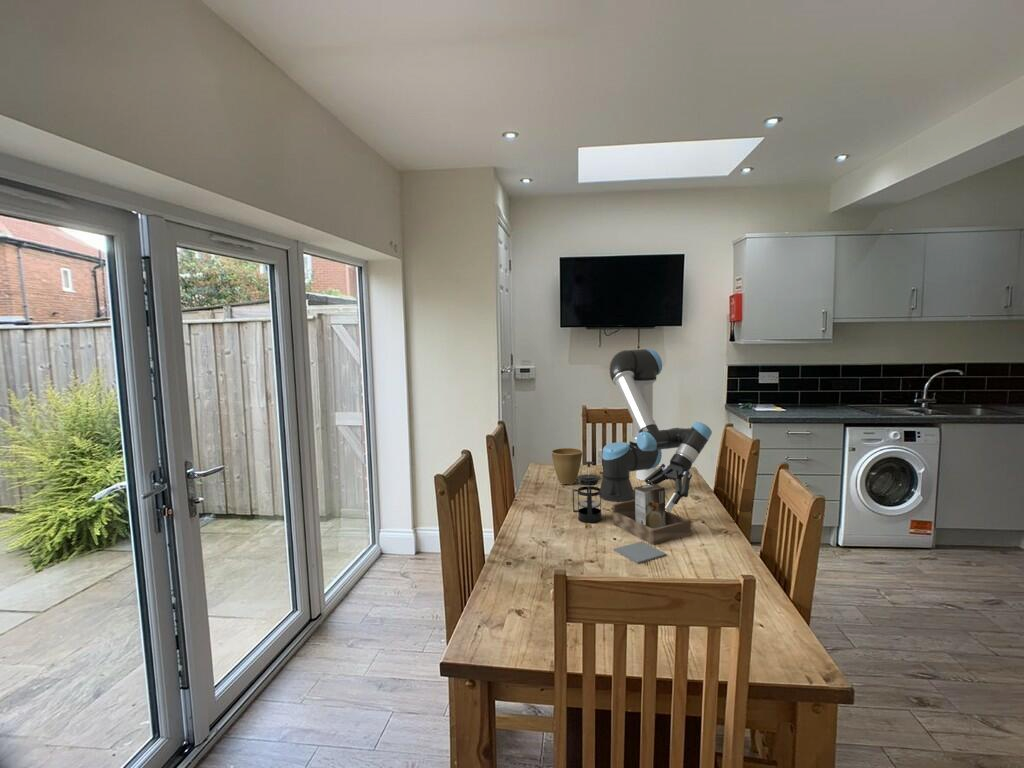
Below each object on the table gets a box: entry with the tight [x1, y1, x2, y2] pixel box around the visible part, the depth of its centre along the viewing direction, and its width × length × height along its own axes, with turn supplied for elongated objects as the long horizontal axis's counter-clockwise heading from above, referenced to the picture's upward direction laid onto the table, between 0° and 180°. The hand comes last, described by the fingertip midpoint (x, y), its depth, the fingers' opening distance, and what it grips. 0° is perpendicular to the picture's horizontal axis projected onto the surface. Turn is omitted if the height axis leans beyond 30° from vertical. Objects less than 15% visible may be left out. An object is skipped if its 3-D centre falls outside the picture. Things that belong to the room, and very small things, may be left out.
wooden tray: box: [612, 498, 692, 546], centre depth 196 cm, size 22×17×8 cm
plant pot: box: [551, 447, 583, 485], centre depth 258 cm, size 15×15×16 cm
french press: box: [572, 460, 603, 524], centre depth 208 cm, size 12×9×23 cm
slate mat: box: [613, 540, 667, 565], centre depth 176 cm, size 12×12×1 cm
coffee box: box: [634, 483, 666, 529], centre depth 195 cm, size 9×6×16 cm
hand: (654, 505), depth 194 cm, fingers open, 13 cm apart
